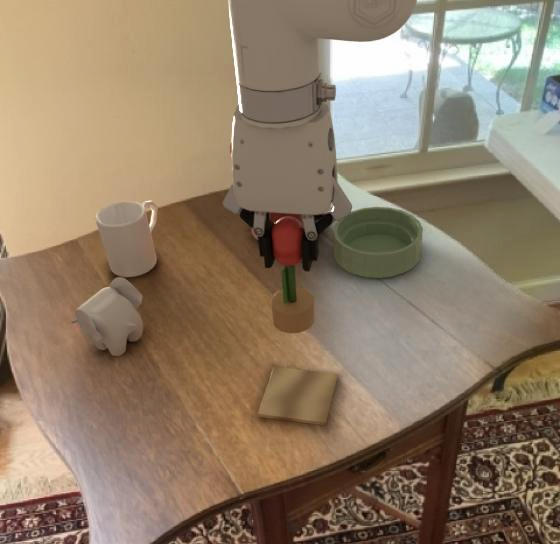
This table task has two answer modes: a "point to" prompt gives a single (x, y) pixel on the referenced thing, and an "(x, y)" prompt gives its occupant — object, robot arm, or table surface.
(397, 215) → the bowl
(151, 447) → the table surface
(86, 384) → the table surface
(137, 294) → the elephant figurine
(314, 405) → the coaster
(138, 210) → the mug
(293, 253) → the tulip
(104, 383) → the table surface
